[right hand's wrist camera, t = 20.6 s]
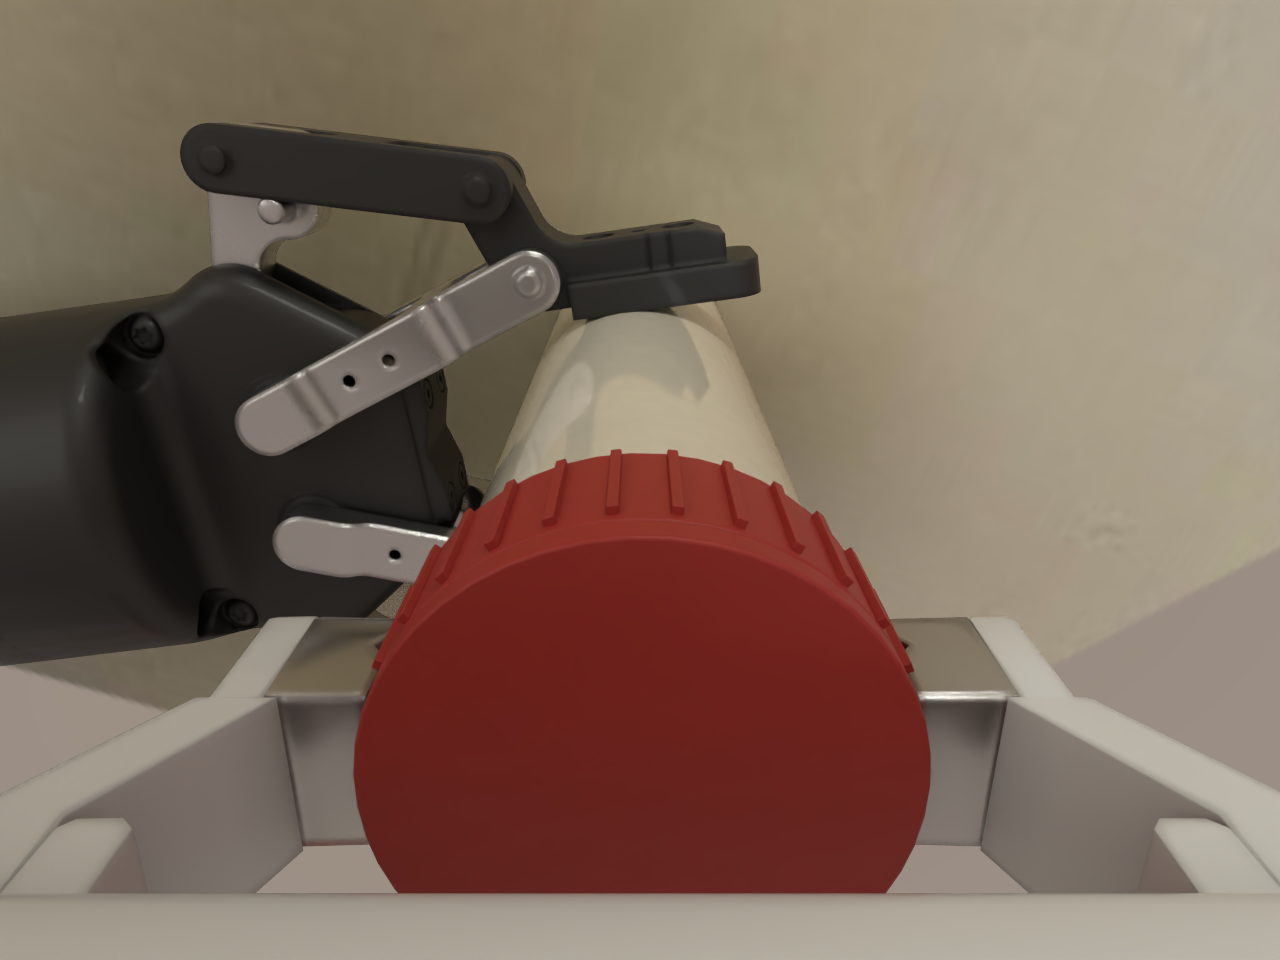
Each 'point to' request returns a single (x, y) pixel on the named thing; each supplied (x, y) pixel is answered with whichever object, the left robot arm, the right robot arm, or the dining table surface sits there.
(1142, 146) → the dining table surface
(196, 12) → the dining table surface
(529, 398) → the white bottle
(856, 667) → the lid
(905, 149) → the dining table surface
